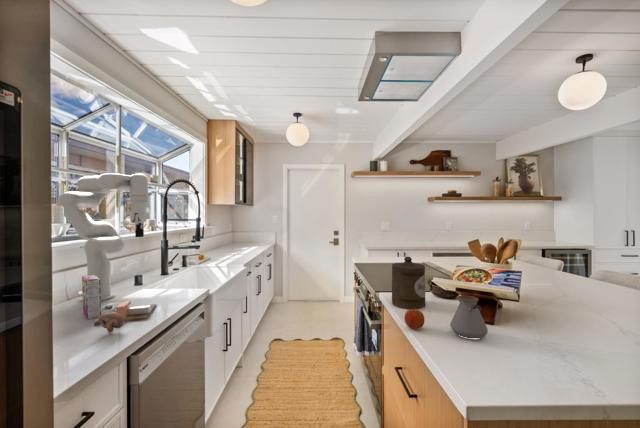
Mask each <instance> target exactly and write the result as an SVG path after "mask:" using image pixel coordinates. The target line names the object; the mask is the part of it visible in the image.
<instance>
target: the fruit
mask: <svg viewBox="0 0 640 428" xmlns="http://www.w3.org/2000/svg"><path fill="white" fill-rule="evenodd" d="M414 308H415V307H414ZM403 319H404V323H405V325H406V326H407V327H408V328H410V329H411V330H414V329H415V331H417V330H419V329H421V328H422V327H423V326H424V325H425V315H424V313H423V312H422V311H421V310H419V309H407V310H406V312H405V314H404V318H403Z"/></svg>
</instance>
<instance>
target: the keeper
mask: <svg viewBox="0 0 640 428" xmlns="http://www.w3.org/2000/svg"><path fill="white" fill-rule="evenodd" d="M131 303H132V300H125V301H122V302H120V303H119V304H118V305H117V306H115V307H116V312H117V313H118V314H120V315H121V316H122V317H123V319H124V318H126V317H127V307H129V306H130V304H131Z"/></svg>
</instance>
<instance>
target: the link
mask: <svg viewBox="0 0 640 428" xmlns="http://www.w3.org/2000/svg"><path fill="white" fill-rule="evenodd" d="M147 305H148V306H141V305H135V306H136V307H131V306H127V315H136V314H147V313H149V312H150V311H151V304H147ZM116 307H117V306H113V305H112V304H109V305H105V307H104V308H101V315H102V314H104V313H108V312H116Z"/></svg>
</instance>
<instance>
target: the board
mask: <svg viewBox="0 0 640 428" xmlns="http://www.w3.org/2000/svg"><path fill="white" fill-rule="evenodd" d="M148 305H149V304H142V305H140V306H148ZM150 305H151V311H150V312H149V313H147V314H136V315H127V317H126V318H124V323H129V322H130V323H131V322H138V321H146V320H148V319H149V318H150V316H151V315H152V313H153V312H154V311H155V309H156V307H157V303H154V304H153V303H152V304H150ZM136 306H137V305H133V306H130V307H136ZM93 322H94V323H93V326H94V327H95V326H102V325H101V324H100V323H99V318H98V319H97V320H95V321H93Z"/></svg>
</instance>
